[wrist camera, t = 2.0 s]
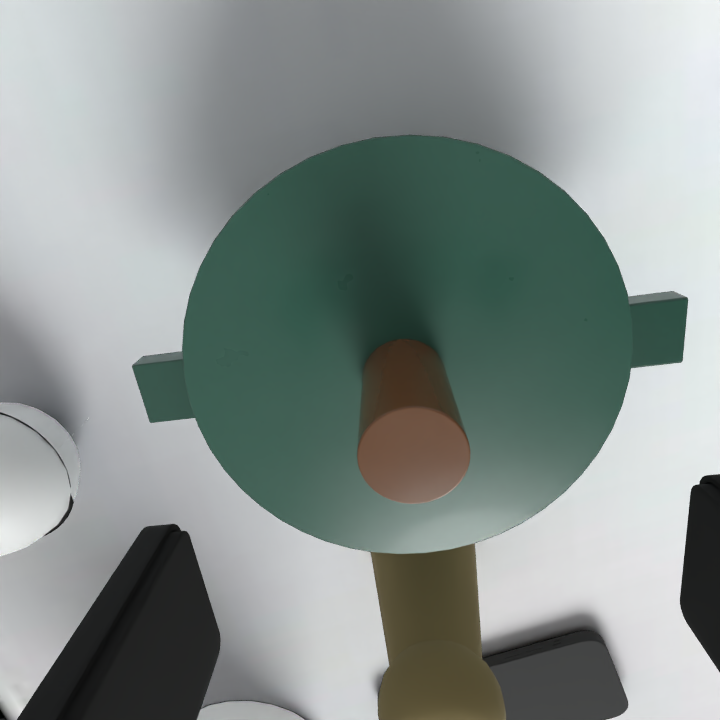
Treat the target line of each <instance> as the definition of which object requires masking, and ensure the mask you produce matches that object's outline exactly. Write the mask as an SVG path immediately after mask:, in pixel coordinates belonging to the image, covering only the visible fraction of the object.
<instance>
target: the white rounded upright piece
mask: <svg viewBox="0 0 720 720" xmlns="http://www.w3.org/2000/svg"><path fill="white" fill-rule="evenodd" d="M87 420H88V419H87ZM87 420H86V421H87ZM74 433H75V432H74ZM74 433H73V434H74ZM73 434H72V435H73ZM80 464H81V463H80V459H79V454H78V449H77V447H76V445H75V443H74V441H73V440H72V438H71V436H70V434H69V433H68V432H67V431H66V430H65V429H64V428H63V427H62V426H61V425H60V424H59V423H58V422H57V421H56V420H55V419H54V418H52V417H51V416H49V415H47V414H46V413H44V412H42V411H41V410H39V409H37V408H34V407H30V406H27V405H24V404H21V403H2V402H0V556H4V555H7V554H10V553H12V552H15V551H18V550H21V549H24V548H26V547H28V546H29V545H31V544H32V543H34V542H35V541H37V540H38V539H40V538H41V537H43V536H45V535H47V534H49V533H51V532H53V531H54V530H56V529H57V528H58V527H59V526H60V525H61V524H62V523H63V522H64V521H65V520H66V518H67V517H68V516H69V514H70V512H71V510H72V506H73V503H74V502H73V500H74V498H75V496H76V495H77V491H78V485H79V479H80Z"/></svg>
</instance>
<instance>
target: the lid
mask: <svg viewBox="0 0 720 720" xmlns="http://www.w3.org/2000/svg"><path fill="white" fill-rule="evenodd" d="M182 353H183V367H184V378H185V382H186V387H187V392H188V396H189V401H190V404H191V407H192V410H193V413H194V415H195V418H196V421H197V424H198V427H199V429H200V430H201V432H202V434H203V436H204V438H205V440H206V442H207V444H208V446H209V448H210V450H211V451H212V453H213V454H214V456H215V457H216V458H217V460H218V461H219V463H220V464H221V466H222V467H223V469H224V470H225V471H226V472H227V473H228V475H229V476H230V477H231V478H232V479H233V480H234V481H235V483H236V484H237V485H238V486H239V487H240V488H241V489H242V490H243V491H244V492H245V493H246V494H247V495H249V496H250V497H251V498H252V499H253V500H254V501H255V502H256V503H258V504H259V505H260V506H261V507H263V508H264V509H266V510H267V511H268V512H270V513H271V514H273V515H274V516H276V517H277V518H278V519H280V520H282V521H283V522H285V523H287V524H289V525H291V526H293V527H295V528H296V529H298V530H300V531H302V532H304V533H307V534H309V535H312V536H314V537H316V538H319V539H321V540H324V541H327V542H330V543H334V544H337V545H341V546H344V547H348V548H352V549H358V550H363V551H369V552H376V553H391V554H416V553H429V552H436V551H444V550H450V549H454V548H458V547H462V546H466V545H470V544H474V543H477V542H480V541H483V540H485V539H488V538H491V537H493V536H496V535H499V534H501V533H503V532H505V531H507V530H509V529H511V528H513V527H515V526H517V525H519V524H521V523H523V522H524V521H526V520H528V519H529V518H531V517H532V516H534V515H535V514H537V513H538V512H540V511H542V510H543V509H544V508H546V507H547V506H548V505H549V504H551V503H552V502H553V501H554V500H556V499H557V498H558V497H559V496H561V495H562V494H563V493H564V492H565V491H566V490H567V489H568V488H569V487H570V486H571V485H572V484H573V483H574V482H575V481H576V480H577V479H578V478H579V477H580V476H581V475H582V474H583V472H584V471H585V470H586V468H587V467H588V466H589V464H590V463H591V462H592V461H593V459H594V458H595V457H596V455H597V454H598V453H599V451H600V449H601V447H602V446H603V444H604V442H605V441H606V439H607V437H608V435H609V434H610V432H611V430H612V428H613V426H614V423H615V421H616V419H617V416H618V414H619V412H620V409H621V407H622V404H623V400H624V397H625V393H626V389H627V386H628V382H629V378H630V370H631V362H632V354H633V333H632V318H631V312H630V306H629V300H628V294H627V291H626V288H625V285H624V282H623V278H622V275H621V272H620V269H619V266H618V264H617V262H616V260H615V258H614V256H613V254H612V252H611V250H610V248H609V246H608V244H607V242H606V240H605V239H604V237H603V236H602V234H601V233H600V232H599V230H598V229H597V227H596V226H595V225H594V223H593V222H592V220H591V219H590V218H589V216H588V215H587V213H586V212H585V211H584V210H583V209H582V208H581V207H580V206H579V205H578V204H577V203H576V202H575V201H574V200H573V199H572V198H571V197H570V196H569V195H568V194H567V193H566V192H565V191H564V190H563V189H561V188H560V187H559V186H557V185H556V184H555V183H553V182H552V181H551V180H549V179H548V178H547V177H546V176H544V175H543V174H542V173H540V172H539V171H537V170H535V169H534V168H532V167H530V166H528V165H526V164H524V163H522V162H521V161H519V160H517V159H515V158H513V157H511V156H510V155H507V154H504V153H501V152H499V151H496V150H493V149H491V148H488V147H485V146H482V145H480V144H476V143H471V142H467V141H462V140H457V139H452V138H447V137H439V136H422V135H400V136H388V137H375V138H371V139H367V140H362V141H358V142H353V143H349V144H344V145H341V146H338V147H336V148H333V149H330V150H328V151H325V152H322V153H320V154H317V155H314V156H312V157H310V158H308V159H306V160H304V161H302V162H300V163H299V164H297V165H295V166H293V167H291V168H290V169H288V170H286V171H284V172H282V173H281V174H279V175H278V176H277V177H275V178H274V179H273V180H271V181H270V182H269V183H267V184H266V185H265V186H263V187H262V188H261V189H260V190H258V191H257V192H256V193H254V194H253V195H252V196H251V197H250V198H249V199H248V200H247V201H246V202H245V203H244V204H243V205H242V206H241V208H240V209H239V210H238V211H237V212H236V213H235V214H234V215H233V216H232V217H231V218H230V220H229V221H228V222H227V224H226V225H225V226H224V228H223V229H222V230H221V232H220V233H219V234H218V236H217V237H216V238H215V240H214V242H213V243H212V245H211V247H210V249H209V251H208V253H207V254H206V256H205V258H204V260H203V262H202V264H201V266H200V268H199V271H198V273H197V276H196V279H195V281H194V284H193V287H192V290H191V292H190V296H189V301H188V305H187V310H186V315H185V319H184V330H183V345H182Z"/></svg>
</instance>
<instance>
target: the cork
mask: <svg viewBox="0 0 720 720" xmlns="http://www.w3.org/2000/svg"><path fill="white" fill-rule="evenodd" d="M371 556H372V562H373V568H374V575H375V581H376V587H377V593H378V599H379V605H380V611H381V617H382V623H383V629H384V635H385V641H386V647H387V653H388V660H389V668H388V669H387V671H386V672H385V674H384V676H383V679H382V683H381V687H380V693H379V699H378V717H379V720H506V711H505V705H504V699H503V695H502V691H501V687H500V685H499V683H498V681H497V679H496V677H495V675H494V674H493V672H492V671H491V669H490V668H489V666H488V665H487V663H486V662H485V661H484V660H482V646H481V631H480V616H479V600H478V585H477V570H476V555H475V545H474V544H470V545H466V546H462V547H458V548H454V549H450V550H444V551H436V552H429V553H416V554H391V553H376V552H371Z"/></svg>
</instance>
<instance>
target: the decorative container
mask: <svg viewBox="0 0 720 720" xmlns="http://www.w3.org/2000/svg"><path fill="white" fill-rule="evenodd" d="M197 720H305V719H303V718H302V717H300V716H299V715H297V714H295V713H294V712H291V711H289V710H286V709H283V708H280V707H278V706H275V705H271V704H265V703H260V702H254V701H228V702H223V703H218V704H214V705H209V706H207V707H205V708H202V709H200V712H199V715H198V718H197Z"/></svg>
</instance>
